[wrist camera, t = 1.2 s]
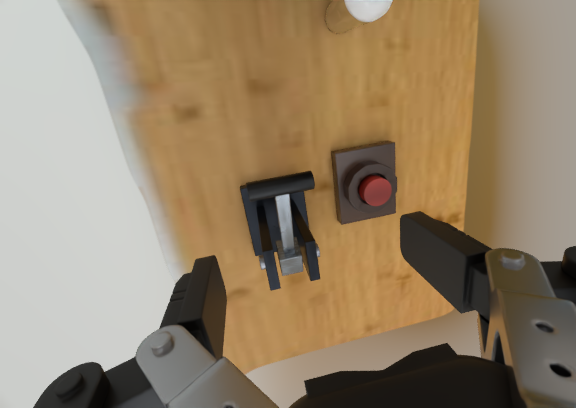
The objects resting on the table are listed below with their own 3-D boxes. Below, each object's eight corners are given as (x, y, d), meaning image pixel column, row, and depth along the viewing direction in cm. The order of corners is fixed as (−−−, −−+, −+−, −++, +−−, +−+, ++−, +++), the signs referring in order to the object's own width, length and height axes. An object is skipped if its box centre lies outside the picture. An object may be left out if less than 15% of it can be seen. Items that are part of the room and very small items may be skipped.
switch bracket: (240, 186, 36) (239, 228, 24) (299, 174, 36) (327, 209, 25) (255, 252, 39) (260, 316, 28) (309, 240, 40) (337, 298, 28)
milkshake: (323, -20, 29) (361, -76, 20) (365, 6, 31) (417, -35, 22) (305, 24, 31) (333, -9, 21) (346, 48, 32) (389, 26, 23)
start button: (357, 177, 35) (363, 181, 33) (384, 172, 35) (391, 175, 33) (359, 204, 36) (364, 208, 34) (385, 198, 36) (392, 203, 35)
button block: (331, 151, 36) (339, 156, 33) (388, 140, 37) (402, 144, 34) (337, 220, 40) (346, 230, 36) (389, 208, 40) (402, 218, 37)
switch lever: (244, 175, 21) (248, 196, 19) (308, 163, 22) (316, 182, 20) (265, 259, 29) (268, 279, 28) (310, 249, 30) (316, 268, 28)
